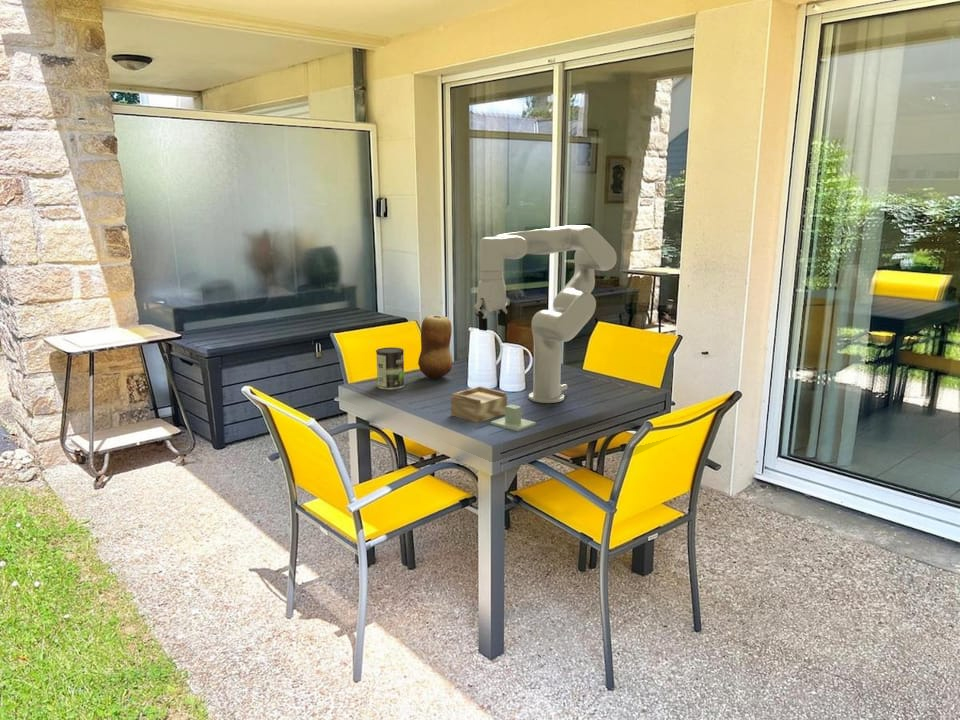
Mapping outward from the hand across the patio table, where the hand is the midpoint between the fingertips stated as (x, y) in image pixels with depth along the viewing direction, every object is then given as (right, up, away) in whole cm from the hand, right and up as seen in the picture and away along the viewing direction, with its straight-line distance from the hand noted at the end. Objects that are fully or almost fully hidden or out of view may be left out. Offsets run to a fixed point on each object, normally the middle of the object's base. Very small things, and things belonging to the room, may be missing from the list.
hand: (492, 327), depth 232 cm
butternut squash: (-22, -18, +48) cm, 55 cm away
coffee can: (-38, -21, +36) cm, 56 cm away
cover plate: (+6, -31, -9) cm, 33 cm away
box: (-5, -28, +1) cm, 29 cm away
